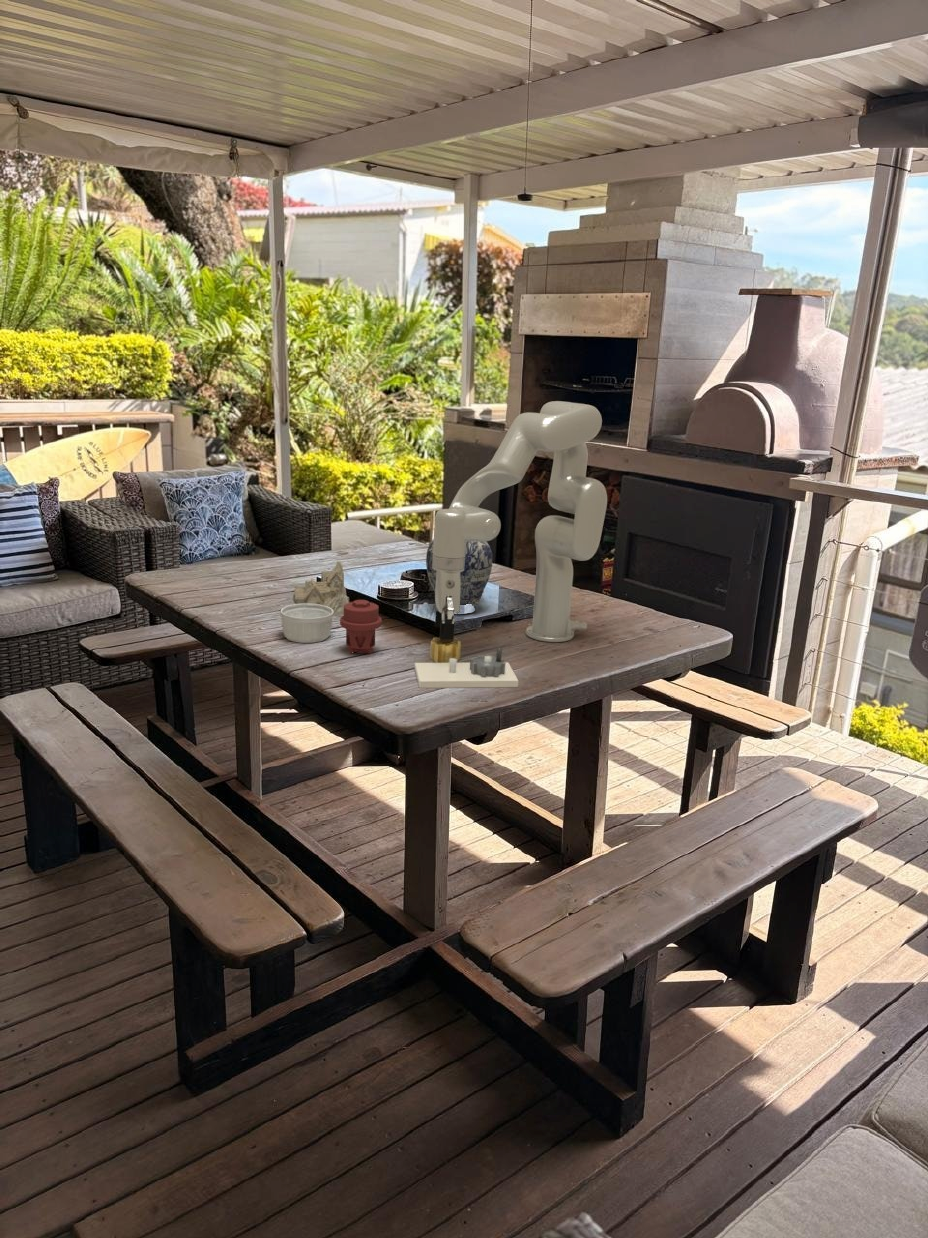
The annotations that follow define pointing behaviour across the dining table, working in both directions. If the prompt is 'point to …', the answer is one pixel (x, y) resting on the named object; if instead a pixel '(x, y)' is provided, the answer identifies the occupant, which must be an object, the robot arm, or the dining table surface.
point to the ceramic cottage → (325, 591)
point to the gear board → (467, 673)
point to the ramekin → (306, 622)
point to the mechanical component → (360, 625)
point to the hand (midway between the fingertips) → (443, 633)
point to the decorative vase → (468, 571)
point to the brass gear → (445, 649)
